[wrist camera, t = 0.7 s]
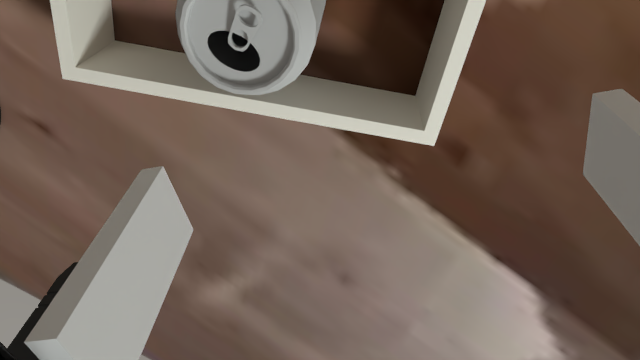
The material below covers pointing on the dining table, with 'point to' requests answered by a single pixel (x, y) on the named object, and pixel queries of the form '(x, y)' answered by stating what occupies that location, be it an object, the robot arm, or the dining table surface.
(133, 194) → the robot arm
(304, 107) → the white rectangular frame
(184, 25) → the can
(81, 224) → the dining table surface
